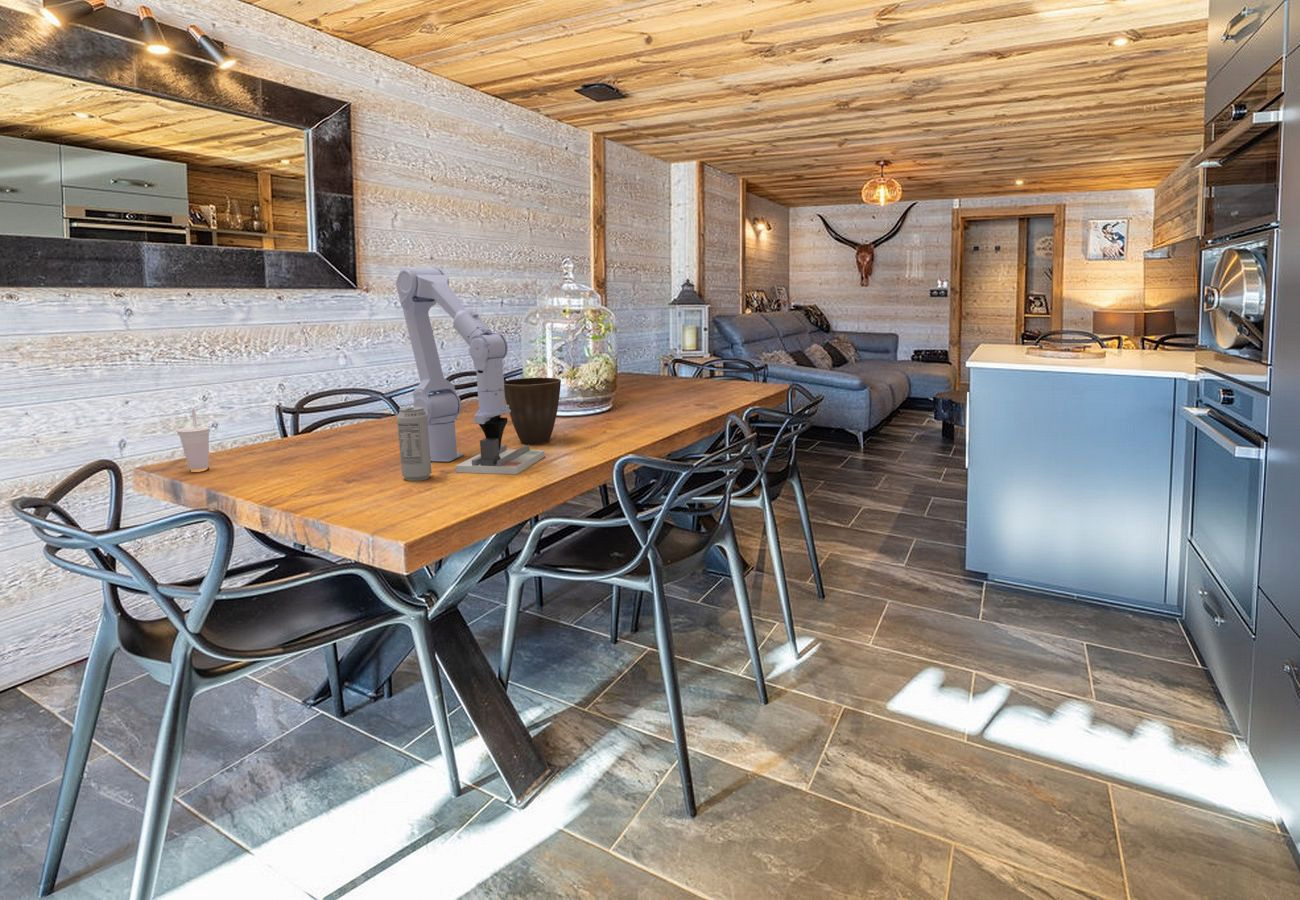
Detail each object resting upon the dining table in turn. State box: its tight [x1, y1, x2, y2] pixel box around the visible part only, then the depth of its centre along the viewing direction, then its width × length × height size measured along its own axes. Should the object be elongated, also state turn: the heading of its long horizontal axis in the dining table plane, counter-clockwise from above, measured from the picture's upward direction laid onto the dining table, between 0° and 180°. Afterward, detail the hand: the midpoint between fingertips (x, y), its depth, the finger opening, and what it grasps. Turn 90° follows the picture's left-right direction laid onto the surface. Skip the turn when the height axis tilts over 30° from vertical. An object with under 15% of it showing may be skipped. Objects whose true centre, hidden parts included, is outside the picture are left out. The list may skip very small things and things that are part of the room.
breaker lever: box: [479, 437, 501, 466], centre depth 167 cm, size 3×4×6 cm
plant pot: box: [504, 377, 562, 446], centre depth 197 cm, size 15×15×16 cm
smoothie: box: [176, 409, 211, 469], centre depth 172 cm, size 6×6×14 cm
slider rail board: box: [455, 444, 546, 475], centre depth 174 cm, size 14×18×3 cm
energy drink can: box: [396, 406, 432, 482], centre depth 161 cm, size 6×6×15 cm
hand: (494, 450), depth 170 cm, fingers closed
